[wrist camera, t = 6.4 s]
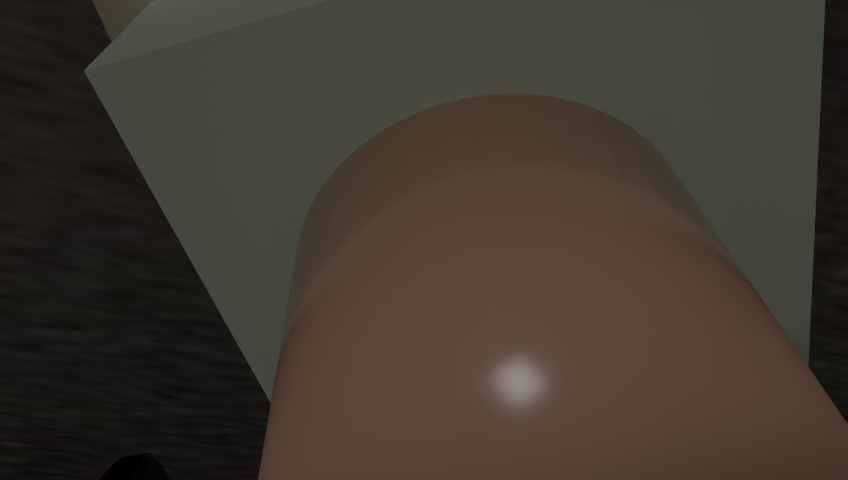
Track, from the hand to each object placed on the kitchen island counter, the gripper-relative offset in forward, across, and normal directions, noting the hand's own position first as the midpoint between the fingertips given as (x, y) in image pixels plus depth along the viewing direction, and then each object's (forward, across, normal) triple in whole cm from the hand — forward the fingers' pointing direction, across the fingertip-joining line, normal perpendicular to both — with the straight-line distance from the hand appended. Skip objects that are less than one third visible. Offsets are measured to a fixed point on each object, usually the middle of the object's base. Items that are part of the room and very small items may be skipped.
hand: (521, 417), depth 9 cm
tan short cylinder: (+3, 0, 0) cm, 3 cm away
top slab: (+6, 0, 0) cm, 6 cm away
